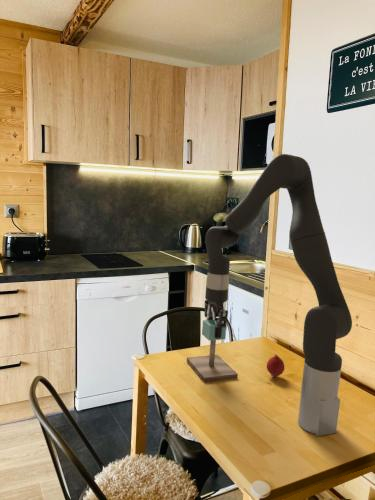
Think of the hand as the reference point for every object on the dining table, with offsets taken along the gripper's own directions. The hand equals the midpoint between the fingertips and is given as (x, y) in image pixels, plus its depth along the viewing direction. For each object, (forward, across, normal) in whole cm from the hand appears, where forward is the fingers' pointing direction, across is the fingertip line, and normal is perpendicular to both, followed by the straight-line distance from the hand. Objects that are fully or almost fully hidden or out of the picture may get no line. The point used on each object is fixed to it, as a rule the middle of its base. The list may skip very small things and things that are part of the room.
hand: (213, 334), depth 137 cm
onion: (+13, -10, -19) cm, 25 cm away
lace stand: (+13, 0, 0) cm, 13 cm away
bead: (+1, 0, 0) cm, 1 cm away
